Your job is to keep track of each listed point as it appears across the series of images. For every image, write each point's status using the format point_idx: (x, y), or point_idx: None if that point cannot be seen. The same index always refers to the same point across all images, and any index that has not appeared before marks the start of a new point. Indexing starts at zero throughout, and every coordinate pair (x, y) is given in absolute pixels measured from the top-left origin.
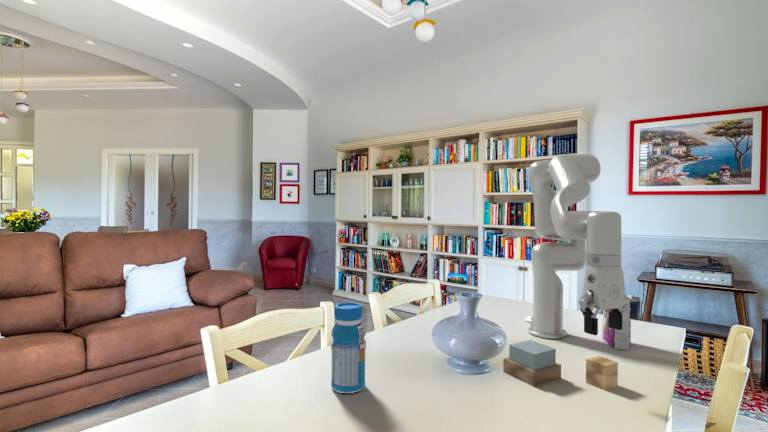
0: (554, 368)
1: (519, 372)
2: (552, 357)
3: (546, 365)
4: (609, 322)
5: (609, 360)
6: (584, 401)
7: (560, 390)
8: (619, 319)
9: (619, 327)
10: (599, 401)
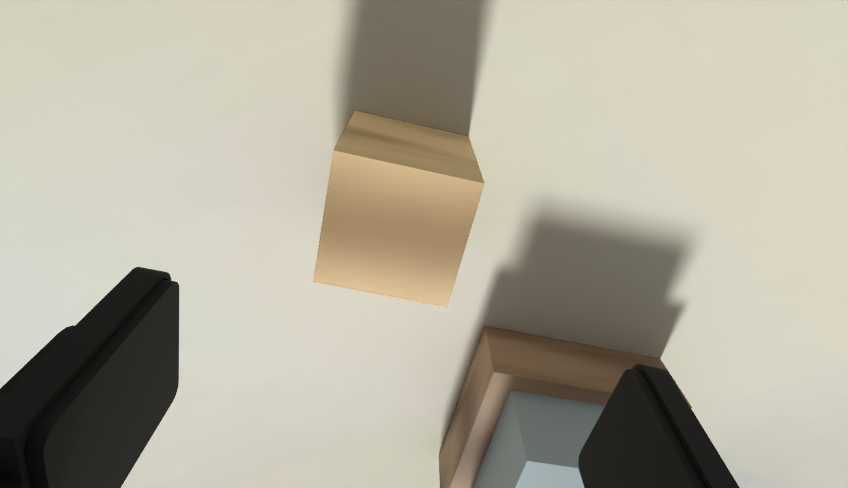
0: (543, 374)
1: None
2: (544, 426)
3: (580, 406)
4: (150, 429)
5: (348, 202)
6: (677, 158)
7: (622, 276)
8: (99, 378)
9: (163, 299)
10: (629, 107)
